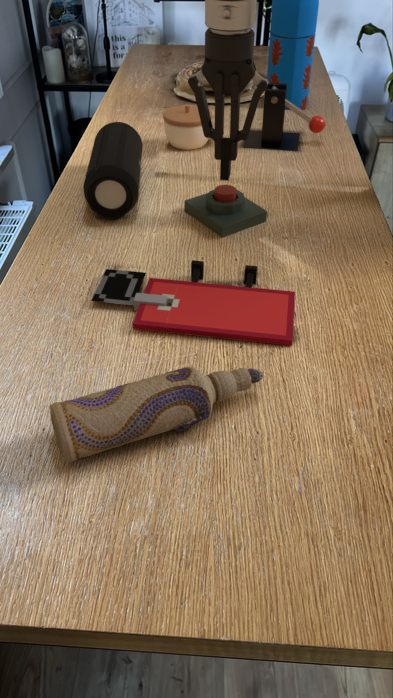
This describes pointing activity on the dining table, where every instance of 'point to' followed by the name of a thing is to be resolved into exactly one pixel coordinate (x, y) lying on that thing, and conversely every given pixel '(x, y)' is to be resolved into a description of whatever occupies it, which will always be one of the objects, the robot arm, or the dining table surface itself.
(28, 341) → the dining table surface
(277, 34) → the thermos
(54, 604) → the dining table surface
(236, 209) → the button box
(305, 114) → the lever
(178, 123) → the trinket box
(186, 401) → the decorative bottle
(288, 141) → the bracket
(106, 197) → the portable speaker
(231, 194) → the button
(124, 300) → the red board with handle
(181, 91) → the pie
